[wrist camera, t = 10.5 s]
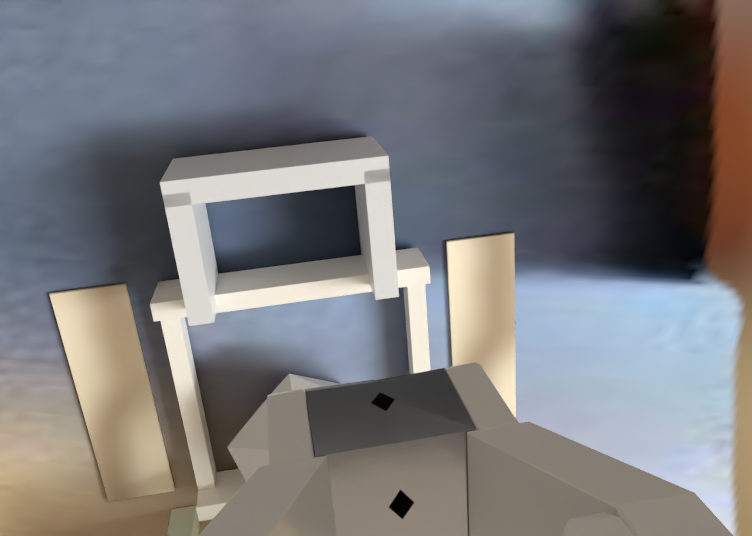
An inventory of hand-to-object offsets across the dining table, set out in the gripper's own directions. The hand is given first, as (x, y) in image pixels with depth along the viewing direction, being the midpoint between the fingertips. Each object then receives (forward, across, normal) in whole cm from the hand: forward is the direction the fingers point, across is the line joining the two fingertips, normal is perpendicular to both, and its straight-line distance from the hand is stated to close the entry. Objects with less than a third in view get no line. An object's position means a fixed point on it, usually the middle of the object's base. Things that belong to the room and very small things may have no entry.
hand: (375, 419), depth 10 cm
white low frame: (+28, 0, +12) cm, 30 cm away
